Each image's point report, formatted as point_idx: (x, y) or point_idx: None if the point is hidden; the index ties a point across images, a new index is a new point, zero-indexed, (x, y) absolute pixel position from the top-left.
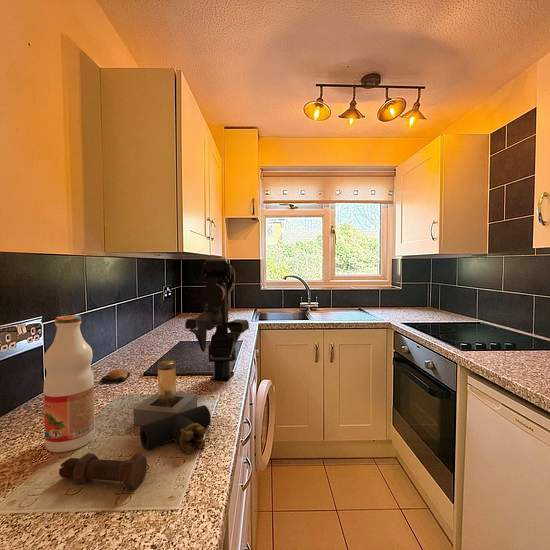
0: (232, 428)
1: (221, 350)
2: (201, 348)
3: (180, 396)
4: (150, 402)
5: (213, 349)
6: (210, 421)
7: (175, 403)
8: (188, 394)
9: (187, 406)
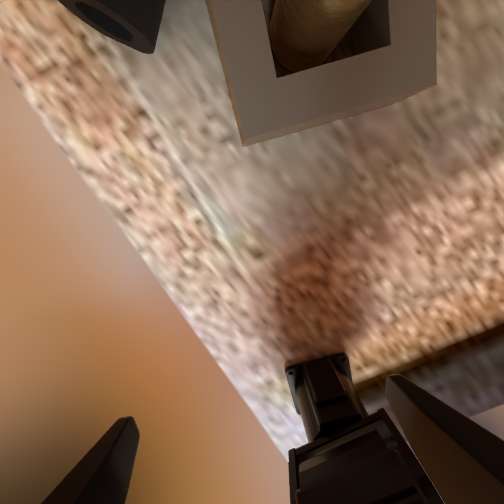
0: (13, 63)
1: (343, 487)
2: (423, 394)
3: (297, 74)
4: None
5: (390, 477)
6: (67, 7)
7: (280, 13)
8: (278, 116)
9: (216, 30)
